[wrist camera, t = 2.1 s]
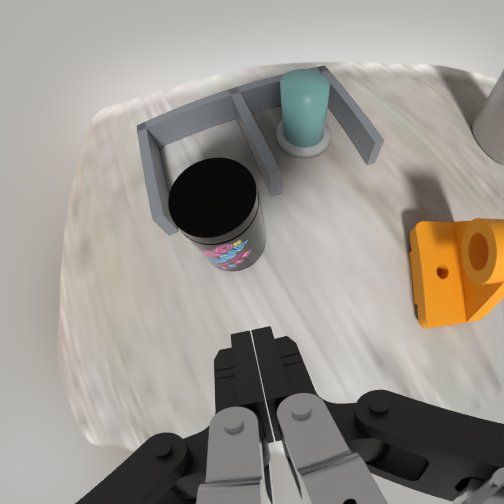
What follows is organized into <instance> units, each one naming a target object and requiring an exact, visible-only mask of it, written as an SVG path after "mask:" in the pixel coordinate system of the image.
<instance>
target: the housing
mask: <svg viewBox="0 0 504 504" xmlns="http://www.w3.org/2000/svg"><path fill="white" fill-rule="evenodd" d="M279 105H282V120H281V121H280V123H279V124H278V126H277V129H276V135H277V142H278V144H279V146H280V147H281V148H282V149H283V150H284V151H285V152H286V153H288V154H290V155H292V156H295V157H300V158H310V157H315V156H317V155H320V154H321V153H323V152H324V151H325V150H326V149H327V147H328V145H329V142H330V129H329V127H328V125H327V124H326V114H327V107H328V108H329V109H330V111H331V112H332V113H333V115H334V116H335V118H336V119H337V120H338V122H339V123H340V125H341V126H342V128H343V129H344V130H345V132H346V133H347V135H348V136H349V138H350V139H351V141H352V142H353V144H354V145H355V147H356V148H357V150H358V152H359V153H360V155H361V156H362V158H363V159H364V161H365V163H366V164H367V165H368V164H371V163H375V161H376V159H377V156H378V154H379V151H380V149H381V146H382V144H383V141H384V140H383V138H382V137H381V135H380V134H379V133H378V131H377V130H376V128H375V127H374V126H373V124H372V123H371V122H370V120H369V119H368V118H367V116H366V115H365V114H364V112H363V111H362V110H361V109H360V107H359V106H358V105H357V103H356V102H355V101H354V100H353V98H352V97H351V96H350V95H349V94H348V92H347V91H346V90H345V89H344V88H343V86H342V85H341V84H340V83H339V82H338V81H337V79H336V78H335V77H334V76H333V75H332V74H331V73H330V72H329V70H328V69H327V68H326V67H325V66H320V67H315V68H310V69H299V70H293V71H290V72H288V73H286V74H283V75H279V76H275V77H271V78H267V79H263V80H260V81H256V82H252V83H249V84H246V85H242V86H239V87H236V88H232V89H229V90H226V91H223V92H220V93H217V94H214V95H211V96H208V97H206V98H203V99H200V100H197V101H195V102H192V103H189V104H187V105H184V106H182V107H179V108H177V109H174V110H172V111H169V112H167V113H164V114H162V115H160V116H157V117H155V118H153V119H151V120H148V121H146V122H144V123H142V124H140V125H137V132H138V139H139V146H140V152H141V159H142V165H143V171H144V177H145V182H146V188H147V193H148V198H149V204H150V209H151V214H152V218H153V221H155V222H156V223H157V224H158V225H159V226H160V227H161V228H162V229H163V230H164V231H165V232H166V233H167V234H168V235H171V234H173V233H176V232H178V228H177V226H176V224H175V223H174V222H173V220H172V218H171V216H170V213H169V208H168V198H169V192H168V188H167V183H166V179H165V175H164V170H163V166H162V161H161V157H160V152H159V148H160V147H163V146H165V145H167V144H170V143H172V142H174V141H177V140H179V139H182V138H184V137H187V136H189V135H192V134H194V133H197V132H200V131H202V130H205V129H208V128H210V127H213V126H216V125H219V124H221V123H224V122H227V121H230V120H233V119H237V121H238V124H239V126H240V128H241V130H242V132H243V134H244V136H245V138H246V141H247V143H248V145H249V147H250V149H251V151H252V154H253V156H254V158H255V160H256V162H257V164H258V167H259V169H260V171H261V173H262V176H263V178H264V180H265V182H266V185H267V187H268V189H269V191H270V194H271V196H274V195H277V194H280V193H282V184H281V171H280V169H279V167H278V165H277V163H276V161H275V159H274V157H273V155H272V153H271V151H270V149H269V147H268V145H267V143H266V141H265V139H264V137H263V135H262V133H261V131H260V129H259V127H258V125H257V123H256V121H255V119H254V118H253V116H252V113H255V112H258V111H261V110H265V109H268V108H271V107H275V106H279Z"/></svg>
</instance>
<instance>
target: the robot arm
mask: <svg viewBox="0 0 504 504" xmlns="http://www.w3.org/2000/svg"><path fill="white" fill-rule="evenodd" d="M472 131H473V134H474V137H475V138H476V140H477V142H478V143H479V145H480V146H481V148H482V149H483V150H484V151H485V152H486V153H487V154H488V155H489V156H490V157H491V158H492V159H494V160H495V161H497V162H498V163H501V164H504V70H503V72H502V74H501V76H500V77H499V79H498V81H497V83H496V84H495V86H494V88H493V90H492V91H491V93H490V95H489V96H488V98H487V100H486V101H485V103H484V105H483V106H482V108H481V109H480V111H479V112H478V114H477V116H476V117H475V119H474V120H473V122H472ZM252 335H253V340H254V345H255V350H256V355H257V359H258V364H259V369H260V374H261V378H262V383H263V388H264V392H265V397H266V402H267V406H268V410H269V415H270V419H271V423H272V427H273V432H274V436H275V440H276V441H280V440H282V444H283V448H284V452H285V456H286V461H287V463H288V466H289V469H290V472H291V474H292V477H293V480H294V483H295V485H296V489H297V491H298V494H299V497H300V499H301V502H302V504H388V503H387V501H386V500H385V498H384V496H383V494H382V492H381V491H380V489H379V487H378V485H377V484H376V482H375V480H374V479H373V476H372V475H371V473H373V474H375V475H378V476H380V477H382V478H385V479H387V480H390V481H392V482H395V483H398V484H400V485H403V486H405V487H408V488H411V489H414V490H417V491H420V492H423V493H426V494H429V495H432V496H436V497H439V498H443V499H446V500H449V501H453V504H504V424H501V423H497V422H492V421H488V420H484V419H480V418H476V417H472V416H469V415H465V414H461V413H458V412H454V411H450V410H447V409H444V408H440V407H437V406H434V405H430V404H427V403H424V402H421V401H417V400H414V399H411V398H408V397H405V396H402V395H399V394H396V393H393V392H390V391H387V390H373V391H370V392H367V393H366V394H364V395H362V396H361V397H360V398H359V399H358V401H357V403H347V404H336V403H331V402H328V401H325V400H323V399H322V398H321V397H319V396H318V394H317V393H316V391H315V389H314V387H313V384H312V382H311V379H310V377H309V374H308V372H307V369H306V367H305V364H304V362H303V359H302V357H301V354H300V352H299V349H298V347H297V344H296V343H295V342H294V341H293V340H291V339H290V338H289V337H288V336H285V337H281V338H276V339H274V336H273V333H272V329H271V327H270V326H269V327H264V328H260V329H255V330H252ZM231 343H232V348H227V349H222V350H219V352H218V354H217V355H216V357H215V359H214V371H215V372H214V377H215V408H216V413H215V416H214V417H213V418H212V420H211V422H210V425H209V426H208V427H207V428H206V429H205V430H203V431H202V432H199V433H197V434H195V435H192V436H189V437H187V438H184V439H182V438H181V437H180V436H178V435H176V434H173V433H159V434H156V435H154V436H152V437H150V438H149V439H148V440H147V441H146V442H145V443H144V444H142V445H141V446H140V447H139V448H138V449H137V450H136V451H135V452H134V453H133V454H132V455H131V456H130V457H128V458H127V459H126V460H125V461H124V462H123V463H122V464H121V465H120V466H119V467H117V468H116V469H115V470H114V471H113V472H112V473H111V474H109V475H108V476H107V477H106V478H105V479H104V480H103V481H101V482H100V483H99V484H98V485H97V486H96V487H95V488H93V489H92V490H91V491H90V492H89V493H88V494H86V495H85V496H84V497H83V498H81V499H80V500H79V501H78V502H77V503H75V504H274V495H273V485H272V475H271V466H270V452H269V447H268V443H271V442H274V440H273V436H272V431H271V427H270V422H269V417H268V413H267V408H266V403H265V399H264V394H263V389H262V384H261V379H260V375H259V370H258V365H257V361H256V356H255V352H254V347H253V343H252V338H251V334H250V331H245V332H240V333H235V334H231Z"/></svg>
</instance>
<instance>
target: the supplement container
mask: <svg viewBox="0 0 504 504" xmlns="http://www.w3.org/2000/svg"><path fill="white" fill-rule="evenodd" d="M168 208H169V213H170V216H171V218H172V220H173V222H174V223H175V224H176V226H177V227H178V228H179V229H180V230H181V232H182V233H183V234H184V235H185V236H186V237H187V238H188V239H189V240H190V241H191V242H192V243H193V244H194V245H195V246H196V247H197V248H198V250H199V251H200V252H201V253H202V254H203V255H204V256H205V257H206V258H207V259H208V261H209V262H210V263H211V264H213V265H214V266H215V267H217V268H219V269H221V270H225V271H240V270H243V269H246V268H248V267H250V266H251V265H253V264H254V263H255V262H256V261H257V260H258V259H259V258H260V256H261V255H262V253H263V251H264V248H265V244H266V235H265V229H264V224H263V220H262V215H261V210H260V205H259V196H258V192H257V188H256V183H255V180H254V178H253V176H252V174H251V173H250V172H249V170H248V169H247V168H246V167H245V166H243V165H242V164H240V163H238V162H236V161H234V160H231V159H227V158H209V159H205V160H202V161H199V162H197V163H195V164H193V165H191V166H190V167H188V168H187V169H186V170H184V171H183V172H182V173H181V174H180V175H179V176H178V178H177V179H176V180H175V182H174V184H173V186H172V188H171V190H170V193H169V198H168Z"/></svg>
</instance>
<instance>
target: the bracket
mask: <svg viewBox="0 0 504 504" xmlns="http://www.w3.org/2000/svg"><path fill="white" fill-rule="evenodd" d="M410 243H411V249H412V251H411V252H410V253H409V256H410V264H411V273H412V283H413V294H414V305H417V308H418V321H419V324H420V325H421V326H422V327H423V328H431V327H439V326H447V325H454V324H460V323H467V322H473V321H478V320H481V319H482V318H484V317H485V316H486V315H487V314H488V313H489V312H490V311H491V310H492V309H493V308H494V307H495V306H496V305H497V304H498V303H499V302H500V301H501V300H502V299H503V297H504V220H502V219H481V218H477V219H474V220H472V221H459V222H433V221H421V222H419V223H418V224H417V225H416V226H415V227H414V228H413V229H412V230H411V231H410Z"/></svg>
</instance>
